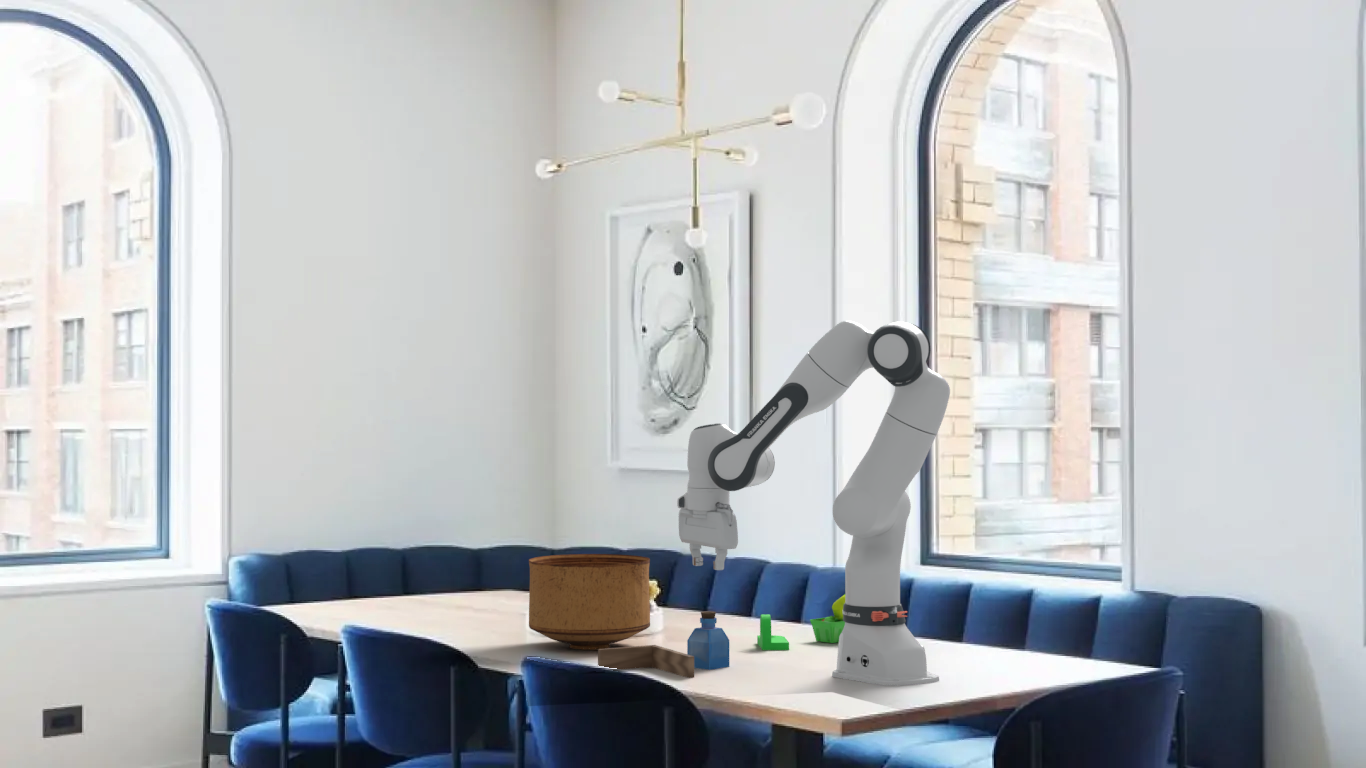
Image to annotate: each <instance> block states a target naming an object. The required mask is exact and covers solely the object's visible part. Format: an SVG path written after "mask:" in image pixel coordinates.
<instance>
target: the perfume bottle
mask: <svg viewBox="0 0 1366 768" xmlns="http://www.w3.org/2000/svg"><path fill="white" fill-rule="evenodd" d="M716 613H717V612H716V611H709V610H708V611H705V610H704V611H700V614H701V617H700V618H699V624H701V627H695V628H694V629H693V630H692V632H691V634H690V636H689V637H688V638H687V640H686V641H687V643H686V645H687V646H686V647H687V649H686V651H687V653H686V654H688V655H691V656H694V669H698V670H699V669H701V670H709V671H710V670H718V669H724V668H729V667H730V639H729V637H728V635H727V634H726V632H725V631H724V629H723V628H722V627H716V624H717V617H716Z"/></svg>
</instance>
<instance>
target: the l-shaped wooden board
mask: <svg viewBox="0 0 1366 768" xmlns="http://www.w3.org/2000/svg"><path fill="white" fill-rule="evenodd" d="M598 665H599V666H604V667H609V668H617V669H621V670H631V669H632V670H633V669H657V670H661V671H664V672H667V673H671V674H675V675H678V676H680V677H681V676H682V677H685V678H688V679H693V678H695V668H694V656H691V655H688V654H687V653H684V652H680V651H677V650H674V649H670V648H667V647H663V646H660V645H656V644H649V645H648V644H647V645H636V646H623V647H622V646H621V647H620V646H619V647H609V648H605V649H597V666H598Z"/></svg>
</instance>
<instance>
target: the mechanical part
mask: <svg viewBox="0 0 1366 768" xmlns="http://www.w3.org/2000/svg"><path fill="white" fill-rule="evenodd" d="M771 617H772V616H771V614H760V618H759V622H760V623H759V635H757V636H756V638H757V640H756V641H757V643H758V644H757V646H758V647H759V648H760V647H761V651H789V650H790V642H789V641H788V640H787V638H786V637H785V636H783V635H776V634H775V635H772V618H771Z"/></svg>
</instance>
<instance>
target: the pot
mask: <svg viewBox="0 0 1366 768" xmlns="http://www.w3.org/2000/svg"><path fill="white" fill-rule="evenodd" d="M650 562H651V559H650V557H647V556H641V555H631V554H630V555H629V554H618V553H617V554H615V553H611V554H609V553H580V554H579V553H575V554H574V553H570V554H553V555H542V556H537V557H532V558H529V559H528V565H529V594H528V595H529V597H528V599H529V600H528V601H529V602H528V603H529V604H528V627H529V629H531V630H532V631H535V633H538V634H540V635H542V636H544V637H546V638H549V639H550V640H553V641H556V642H560V643H563V644H566V645H569V647H568V648H570V649H575V650H584V651H585V650H598V649H606V648H611V645H610V644H615V643H618V642H622V641H624V640H627V639H630V638H632V637H633V636H636V635H637V634H639V633H641V632H643V631H645V630H647V629H648V628H650V627H651V603H650V601H651V600H650V564H651V563H650Z"/></svg>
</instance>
